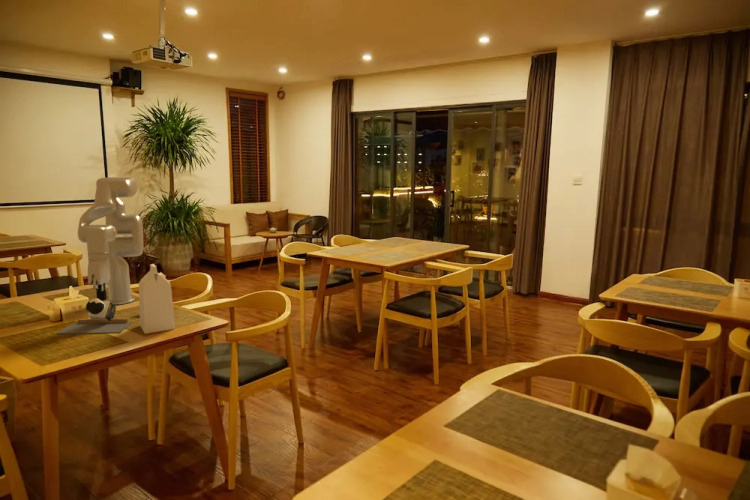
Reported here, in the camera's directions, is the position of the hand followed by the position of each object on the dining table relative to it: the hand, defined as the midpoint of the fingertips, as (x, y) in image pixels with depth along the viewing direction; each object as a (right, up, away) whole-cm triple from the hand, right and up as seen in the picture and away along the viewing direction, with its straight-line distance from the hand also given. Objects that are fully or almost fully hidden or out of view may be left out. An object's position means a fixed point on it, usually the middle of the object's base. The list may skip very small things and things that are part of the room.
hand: (101, 300), depth 205 cm
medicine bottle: (0, -7, +5) cm, 8 cm away
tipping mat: (0, -11, -4) cm, 12 cm away
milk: (+24, -11, -2) cm, 27 cm away
